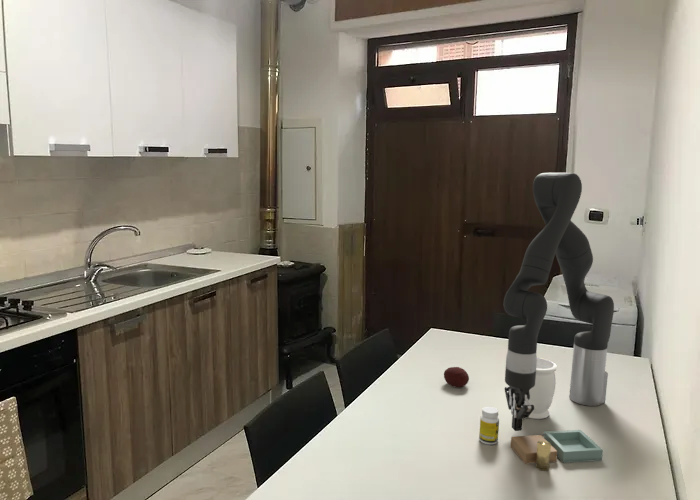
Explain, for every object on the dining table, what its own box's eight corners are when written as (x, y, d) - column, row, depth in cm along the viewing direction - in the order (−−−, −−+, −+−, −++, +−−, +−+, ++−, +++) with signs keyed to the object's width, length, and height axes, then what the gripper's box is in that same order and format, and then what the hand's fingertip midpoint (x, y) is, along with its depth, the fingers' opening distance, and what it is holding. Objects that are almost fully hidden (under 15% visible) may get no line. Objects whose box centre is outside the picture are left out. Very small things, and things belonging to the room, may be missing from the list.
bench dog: (545, 463, 131) (547, 440, 130) (551, 470, 128) (553, 446, 127) (533, 464, 131) (535, 440, 130) (539, 471, 128) (541, 447, 127)
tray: (579, 439, 143) (580, 429, 143) (601, 460, 133) (602, 449, 133) (543, 441, 142) (544, 431, 141) (563, 462, 132) (563, 451, 131)
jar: (533, 424, 151) (537, 372, 149) (506, 409, 160) (510, 360, 158) (561, 416, 156) (565, 366, 153) (533, 402, 165) (537, 354, 163)
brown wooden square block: (540, 446, 140) (540, 434, 140) (556, 462, 133) (557, 451, 132) (510, 447, 139) (511, 436, 139) (525, 465, 131) (526, 453, 131)
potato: (458, 379, 182) (459, 361, 181) (473, 388, 174) (474, 370, 173) (439, 382, 179) (440, 365, 178) (454, 392, 171) (455, 374, 170)
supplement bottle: (498, 446, 139) (500, 415, 138) (479, 444, 140) (481, 412, 139) (497, 437, 144) (499, 406, 142) (478, 434, 145) (480, 404, 143)
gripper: (547, 376, 136) (542, 441, 139) (523, 357, 149) (519, 417, 152) (518, 377, 135) (514, 443, 138) (496, 358, 148) (493, 418, 150)
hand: (516, 429), depth 145 cm, fingers closed
